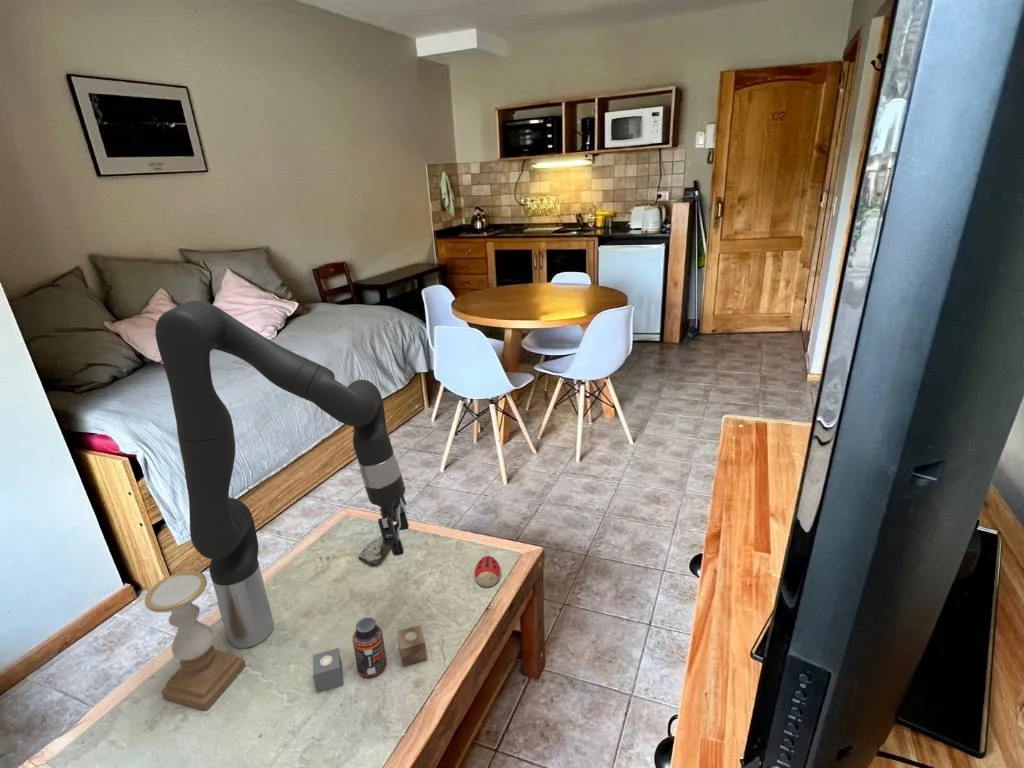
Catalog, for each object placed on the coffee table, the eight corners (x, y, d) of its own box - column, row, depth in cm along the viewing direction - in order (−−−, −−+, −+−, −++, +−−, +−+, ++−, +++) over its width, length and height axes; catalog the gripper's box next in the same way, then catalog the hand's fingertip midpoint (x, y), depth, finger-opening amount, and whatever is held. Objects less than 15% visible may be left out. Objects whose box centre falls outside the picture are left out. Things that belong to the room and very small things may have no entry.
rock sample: (358, 531, 149) (374, 521, 144) (382, 541, 153) (398, 531, 148) (348, 567, 142) (364, 557, 137) (373, 577, 146) (390, 567, 141)
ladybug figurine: (474, 589, 133) (473, 578, 132) (474, 562, 142) (474, 551, 141) (501, 588, 133) (501, 576, 132) (500, 561, 142) (499, 550, 141)
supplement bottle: (379, 680, 109) (372, 638, 105) (352, 676, 111) (344, 634, 107) (391, 656, 115) (385, 615, 111) (365, 652, 116) (358, 611, 112)
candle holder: (247, 664, 114) (221, 573, 105) (207, 711, 104) (175, 615, 96) (204, 654, 117) (176, 565, 108) (161, 699, 107) (126, 604, 98)
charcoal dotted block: (317, 693, 107) (312, 674, 105) (317, 673, 112) (312, 654, 110) (343, 685, 109) (339, 666, 107) (342, 665, 113) (338, 647, 111)
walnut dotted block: (403, 667, 112) (400, 648, 110) (399, 649, 117) (397, 630, 115) (427, 660, 114) (424, 641, 112) (422, 642, 118) (420, 624, 116)
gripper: (370, 462, 116) (389, 524, 122) (356, 499, 103) (378, 566, 109) (404, 455, 116) (422, 518, 122) (395, 492, 103) (415, 560, 109)
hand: (401, 541), depth 115 cm, fingers open, 8 cm apart
